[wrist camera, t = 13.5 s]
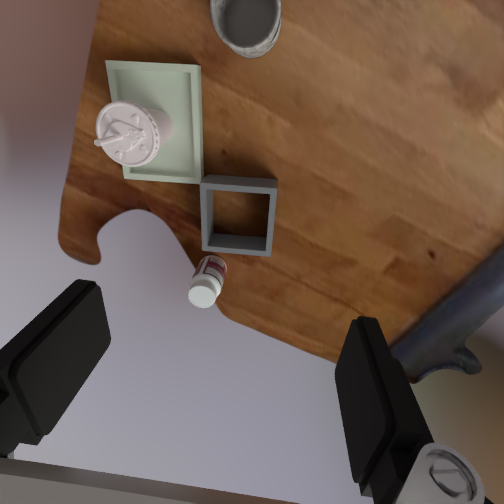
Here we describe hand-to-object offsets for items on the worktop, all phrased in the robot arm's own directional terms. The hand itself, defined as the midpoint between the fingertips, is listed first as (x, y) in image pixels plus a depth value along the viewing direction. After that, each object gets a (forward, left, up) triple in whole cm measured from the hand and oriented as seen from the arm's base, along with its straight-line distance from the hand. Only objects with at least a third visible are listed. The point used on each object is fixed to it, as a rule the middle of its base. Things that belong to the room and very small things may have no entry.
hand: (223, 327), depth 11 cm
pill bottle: (+18, -8, -33) cm, 39 cm away
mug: (-16, -3, -33) cm, 37 cm away
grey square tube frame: (+8, -3, -33) cm, 34 cm away
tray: (-3, -14, -33) cm, 36 cm away
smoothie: (-3, -14, -32) cm, 35 cm away
